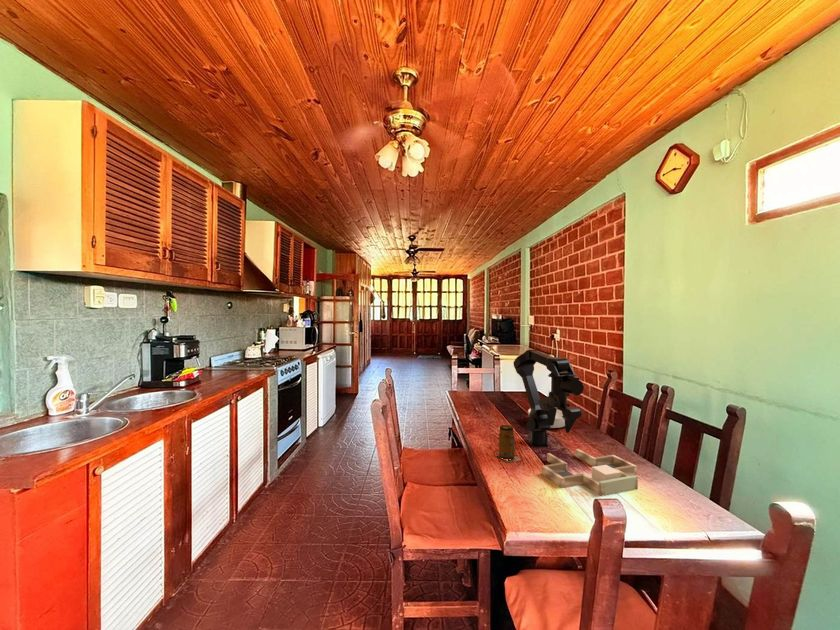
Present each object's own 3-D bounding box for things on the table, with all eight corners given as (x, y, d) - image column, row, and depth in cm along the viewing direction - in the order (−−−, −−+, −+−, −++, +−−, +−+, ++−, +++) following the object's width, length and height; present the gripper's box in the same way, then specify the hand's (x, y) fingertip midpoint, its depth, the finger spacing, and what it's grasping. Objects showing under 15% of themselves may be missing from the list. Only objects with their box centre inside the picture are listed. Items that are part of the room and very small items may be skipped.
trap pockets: (542, 474, 127) (542, 465, 127) (613, 462, 137) (613, 454, 136) (561, 488, 117) (561, 478, 117) (637, 474, 127) (637, 465, 127)
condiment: (509, 452, 147) (509, 423, 147) (521, 460, 139) (521, 429, 139) (493, 454, 145) (493, 425, 145) (505, 463, 137) (505, 431, 137)
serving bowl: (523, 419, 192) (523, 406, 192) (563, 419, 191) (563, 406, 191) (534, 432, 171) (534, 417, 171) (579, 432, 170) (579, 418, 170)
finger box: (547, 461, 138) (547, 450, 138) (578, 456, 142) (578, 446, 142) (601, 495, 112) (601, 483, 112) (637, 488, 116) (637, 476, 116)
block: (591, 481, 122) (591, 466, 122) (606, 479, 124) (606, 464, 124) (605, 490, 116) (605, 474, 116) (620, 487, 118) (620, 472, 118)
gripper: (527, 386, 149) (528, 424, 149) (557, 396, 131) (557, 439, 131) (550, 384, 152) (550, 421, 152) (582, 394, 134) (582, 436, 134)
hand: (559, 429), depth 142 cm, fingers open, 9 cm apart
